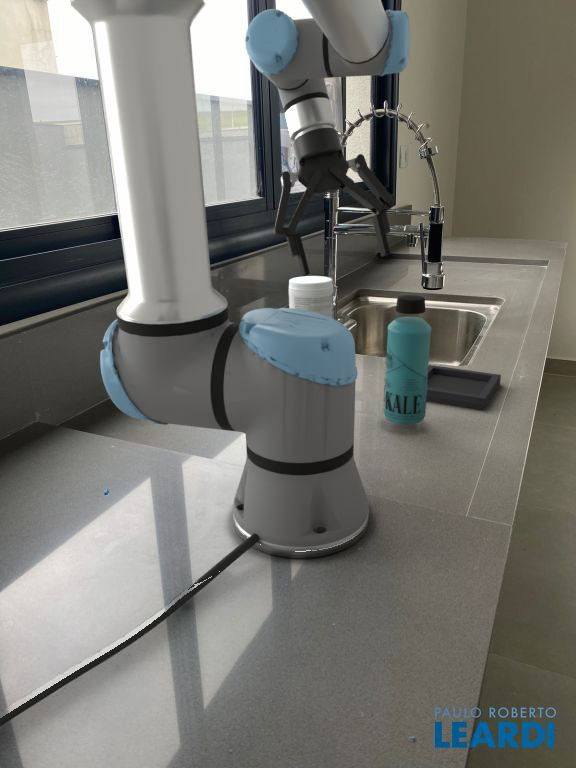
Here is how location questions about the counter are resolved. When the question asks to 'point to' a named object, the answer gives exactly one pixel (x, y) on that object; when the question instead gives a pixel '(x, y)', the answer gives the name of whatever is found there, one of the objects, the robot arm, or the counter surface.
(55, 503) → the counter surface
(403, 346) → the beverage bottle
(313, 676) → the counter surface
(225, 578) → the counter surface
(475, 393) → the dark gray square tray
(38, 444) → the counter surface
